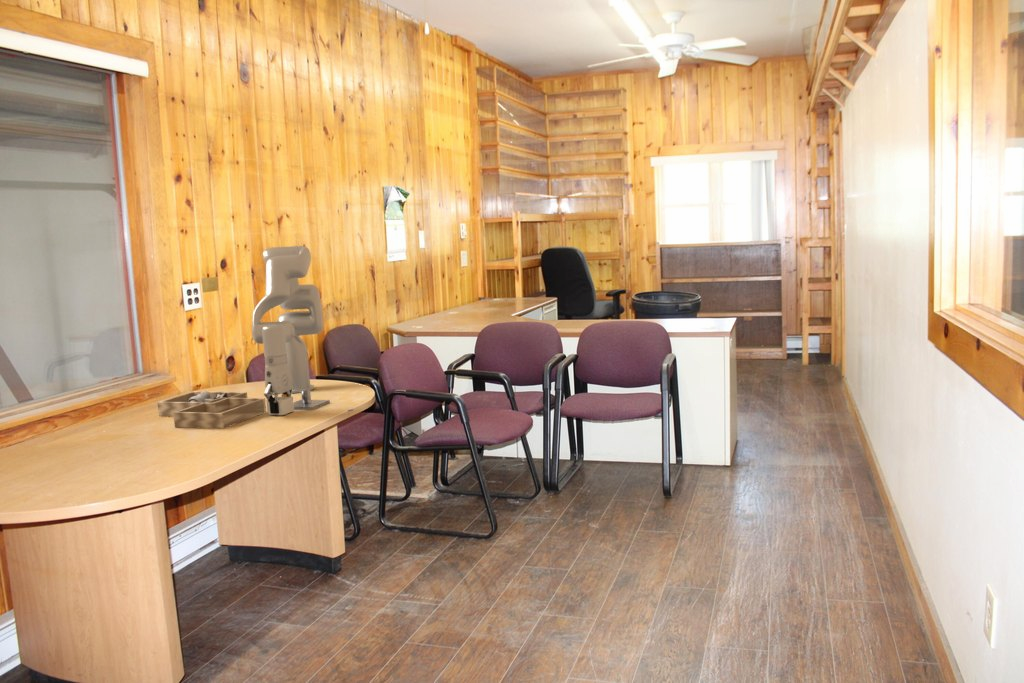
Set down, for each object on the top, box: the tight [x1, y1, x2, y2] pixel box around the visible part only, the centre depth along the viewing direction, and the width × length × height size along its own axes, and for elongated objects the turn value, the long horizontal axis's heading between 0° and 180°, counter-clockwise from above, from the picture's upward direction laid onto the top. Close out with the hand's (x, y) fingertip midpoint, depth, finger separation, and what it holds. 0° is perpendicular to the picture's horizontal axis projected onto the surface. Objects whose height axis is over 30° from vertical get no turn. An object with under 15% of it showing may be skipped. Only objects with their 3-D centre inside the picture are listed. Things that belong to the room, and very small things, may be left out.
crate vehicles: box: [173, 397, 267, 430], centre depth 286 cm, size 19×24×5 cm
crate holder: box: [157, 391, 248, 417], centre depth 302 cm, size 24×19×5 cm
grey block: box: [265, 394, 295, 416], centre depth 290 cm, size 6×7×6 cm
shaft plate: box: [293, 390, 331, 411], centre depth 301 cm, size 12×12×6 cm
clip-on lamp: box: [188, 390, 227, 403], centre depth 302 cm, size 12×6×18 cm
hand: (280, 410), depth 290 cm, fingers closed on grey block, 6 cm apart
